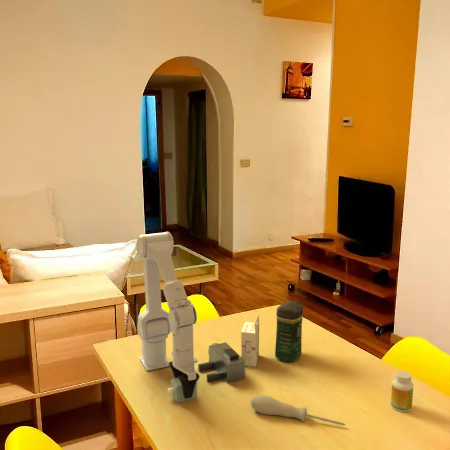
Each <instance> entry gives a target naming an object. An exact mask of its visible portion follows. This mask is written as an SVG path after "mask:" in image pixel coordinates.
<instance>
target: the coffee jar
mask: <svg viewBox="0 0 450 450" xmlns="http://www.w3.org/2000/svg"><path fill="white" fill-rule="evenodd" d="M303 309H304V306H303V305H302V303H300V302H298V301H294V300H293V301H292V300H288V301H285V302H284V303H282V304H280V305H279V306H278V307H277V308H276V314H275V315H276V316H275V318H276V334H275V337H276V338H275V348H274V355H275V356H274V357H275V358H276V359H277V360H279V361H281V362H285V363H289V362H290V363H291V362H293V363H294V362H295V361H297V360H298V359H299V358H300V357H301V355H302V345H303V344H302V336H303V335H302V330H303V315H304V310H303Z"/></svg>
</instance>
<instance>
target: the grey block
mask: <svg viewBox="0 0 450 450" xmlns="http://www.w3.org/2000/svg"><path fill="white" fill-rule="evenodd" d="M197 382H198V381H197ZM197 382H196V385H195V387H194V391H193V395H192V397H191V398H187V399H185V398H184V395H183V389H182V385H181V382H180V380H179V378H178V377H177V378H174V377H173V378H171V379H170V384H171V387H168V388H167V395H168V396H170V397H173V399H174V401H175V403H181V402H185V401H189V400H193V399H197V398H198V395H197V394H198V390H197V386H198V385H197V384H198V383H197Z"/></svg>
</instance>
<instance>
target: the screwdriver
mask: <svg viewBox="0 0 450 450" xmlns="http://www.w3.org/2000/svg"><path fill="white" fill-rule="evenodd" d="M250 405H251V408H252V409H253V410H255V411H256V412H258V413H259V414H263V415H268V416H269V415H270V416H272V415H273V416H282V417H286V418H295V419H298V420H300V421H301V422H305V421H306V419H307V417H308V418H313V419H316V420H319V421H324V422H326V423H327V422H328V423H333V424H337V425H340V426H346V423H344V422H341V421H337V420H333V419H329V418H325V417H321V416H317V415H312V414H309V413H308V412H307V407H296V406H294V405H293V404H289V403H286V402H283V401H281V400H278V399H276V398H274V397H271V396H266V395H256V396H254V397H253V398H252V399H251V401H250Z"/></svg>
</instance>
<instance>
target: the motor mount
mask: <svg viewBox="0 0 450 450" xmlns="http://www.w3.org/2000/svg"><path fill="white" fill-rule="evenodd" d="M207 354H208V362H203V363H197V371H198V372H204V371H208V370H212V369H214V370H215V372H212V373H208V374H206V381H207V383H211V382H214V381H220V380H224V382H225V383H226V384H230V383H235V382H238V381H242V380H243V381H244V380H246V366H245V360H244V359H243V358H242V357H241V355H240V354H239V353H238V352H237V351H235V350H234V348H232V346H230V345H229V344H228V343H227V342H221V343H219V342H213V343H212V344H211V345H209V346H208V350H207Z"/></svg>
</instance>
